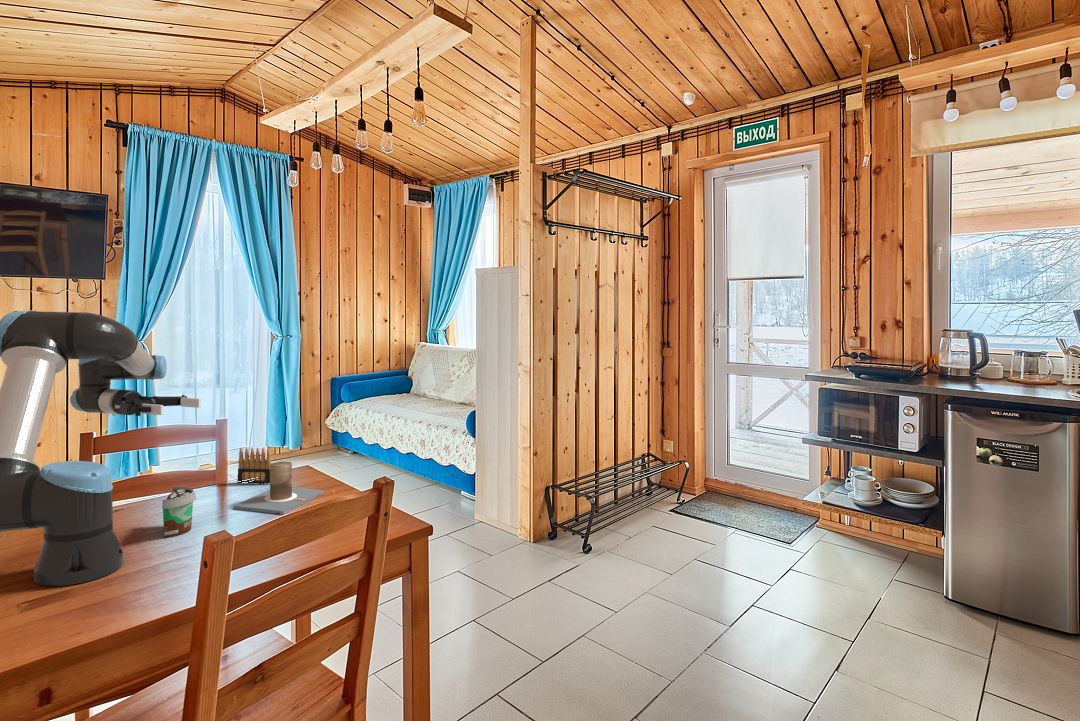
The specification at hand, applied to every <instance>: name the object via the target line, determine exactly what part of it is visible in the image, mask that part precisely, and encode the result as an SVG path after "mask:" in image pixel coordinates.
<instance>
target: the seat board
mask: <svg viewBox="0 0 1080 721" xmlns="http://www.w3.org/2000/svg"><path fill="white" fill-rule="evenodd" d="M323 492H324V493H325V490H323V489H313V488H303V487H294V486H292V497H290V498H288V499H284V500H272V499H270V489H268V490H266V491H264V492H262V493H259V494H257V495H254V496H253V497H250V498H248V499H246V500H243V501H241V502H239V503H236V504H234V505H233V510H237V511H238V510H239V511H249V512H257V513H266V514H273V513H281V514H280V515H285V514H287V513H288V512H287V511H289V510H291V509H293V510H295V509H297V508H299V507H301V506H302V505H301V504H303V505H304V503H305V504H306V502H307V503H308V502H311V501H312V500H314V499H316V498H317V497H316V496H318V495H320V494H322V493H323ZM322 495H323V494H322ZM320 496H321V495H320ZM315 497H316V498H315ZM318 497H319V496H318ZM300 505H301V506H300ZM298 506H299V507H298ZM294 508H295V509H294ZM291 511H292V510H291ZM284 512H286V513H284ZM289 512H290V511H289ZM282 513H284V514H282Z"/></svg>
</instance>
